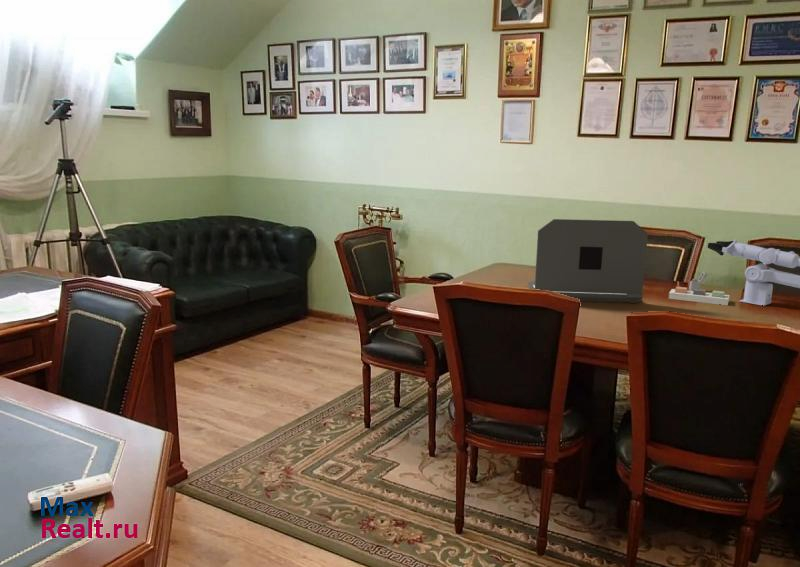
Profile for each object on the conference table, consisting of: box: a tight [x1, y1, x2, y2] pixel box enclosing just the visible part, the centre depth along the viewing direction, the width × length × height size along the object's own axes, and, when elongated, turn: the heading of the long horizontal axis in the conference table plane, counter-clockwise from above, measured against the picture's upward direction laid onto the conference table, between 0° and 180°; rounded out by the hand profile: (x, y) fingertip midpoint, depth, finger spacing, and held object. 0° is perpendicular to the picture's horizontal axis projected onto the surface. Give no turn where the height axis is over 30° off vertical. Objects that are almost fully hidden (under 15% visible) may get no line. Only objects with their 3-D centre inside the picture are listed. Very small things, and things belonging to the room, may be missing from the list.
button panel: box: [668, 288, 730, 306], centre depth 256 cm, size 22×9×2 cm, turn 60°
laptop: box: [527, 218, 649, 304], centre depth 262 cm, size 43×31×34 cm
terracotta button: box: [674, 286, 688, 294], centre depth 259 cm, size 4×4×3 cm
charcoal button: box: [693, 288, 707, 296], centre depth 256 cm, size 4×4×3 cm
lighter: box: [688, 272, 708, 291], centre depth 273 cm, size 7×2×8 cm, turn 100°
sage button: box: [711, 290, 725, 298], centre depth 252 cm, size 4×4×3 cm
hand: (712, 244), depth 263 cm, fingers open, 7 cm apart
